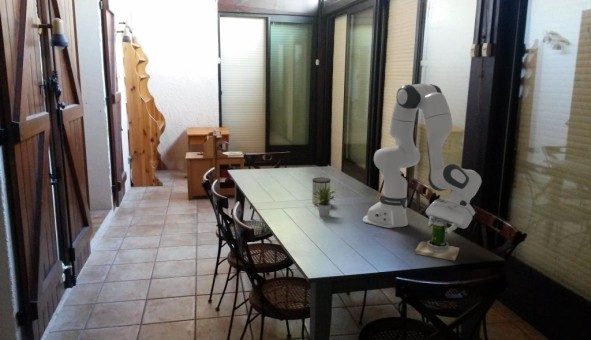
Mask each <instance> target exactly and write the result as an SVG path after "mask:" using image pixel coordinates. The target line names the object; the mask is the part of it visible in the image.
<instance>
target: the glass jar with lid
mask: <svg viewBox="0 0 591 340" xmlns="http://www.w3.org/2000/svg"><path fill="white" fill-rule="evenodd" d="M311 180H312V201H311V203H312V204H313V205H316V206H318V203H320V200H319V199H320V198H319V194H320V192H319V191H320V190H319V187H320V188H321V189H322V190H323V186H324V189H325V193H326V190H327V188H328V186H329V188H330V187H331V178H328V177H315V178H312V179H311ZM318 186H319V187H318ZM330 189H331V188H330ZM316 190H317V191H318V192H319V194H318V193H317V191H316ZM322 192H323V191H322ZM330 192H331V191H330ZM330 192H329V193H330ZM329 193H328V194H329ZM314 196H316V197H318V198H319V199H318V198H315V197H314ZM329 196H331V195H329ZM329 198H331V197H329ZM329 198H328V199H329ZM330 200H331V199H330ZM330 200H329V202H328V203H331V201H330Z"/></svg>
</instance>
